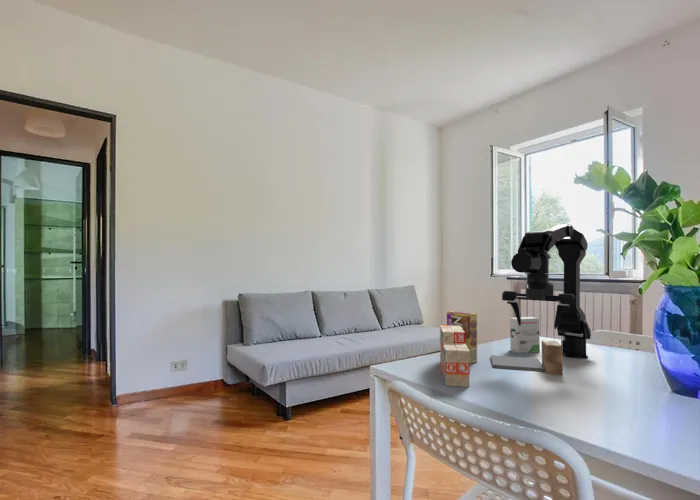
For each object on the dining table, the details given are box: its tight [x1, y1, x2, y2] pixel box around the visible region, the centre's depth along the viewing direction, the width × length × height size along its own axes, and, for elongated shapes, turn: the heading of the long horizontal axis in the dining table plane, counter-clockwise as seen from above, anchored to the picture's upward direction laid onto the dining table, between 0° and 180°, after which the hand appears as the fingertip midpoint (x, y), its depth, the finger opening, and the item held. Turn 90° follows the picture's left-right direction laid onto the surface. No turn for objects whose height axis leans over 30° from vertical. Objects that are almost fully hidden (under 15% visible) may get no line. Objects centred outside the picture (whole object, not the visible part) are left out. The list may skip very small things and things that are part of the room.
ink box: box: [509, 316, 541, 354], centre depth 134 cm, size 9×5×12 cm, turn 99°
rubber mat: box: [490, 354, 545, 372], centre depth 117 cm, size 14×12×1 cm
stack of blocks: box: [439, 324, 471, 388], centre depth 107 cm, size 21×6×12 cm, turn 170°
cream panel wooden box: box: [541, 339, 564, 376], centre depth 110 cm, size 4×7×8 cm, turn 163°
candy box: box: [446, 310, 478, 364], centre depth 122 cm, size 9×4×15 cm, turn 39°
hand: (537, 327), depth 111 cm, fingers open, 9 cm apart
